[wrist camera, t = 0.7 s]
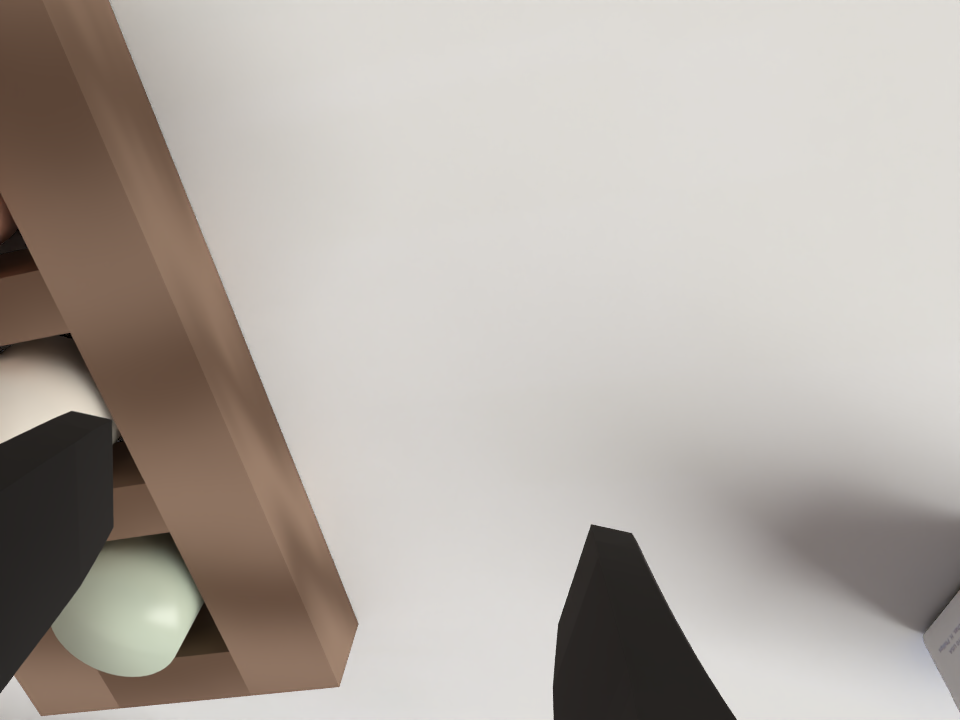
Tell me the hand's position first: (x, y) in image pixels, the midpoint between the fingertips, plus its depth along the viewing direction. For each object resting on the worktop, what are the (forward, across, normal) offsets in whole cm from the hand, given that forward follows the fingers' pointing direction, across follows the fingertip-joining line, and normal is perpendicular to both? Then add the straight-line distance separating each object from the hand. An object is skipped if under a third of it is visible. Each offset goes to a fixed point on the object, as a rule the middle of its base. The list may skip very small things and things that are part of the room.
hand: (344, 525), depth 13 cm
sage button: (+10, +7, +11) cm, 16 cm away
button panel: (+10, +9, +5) cm, 14 cm away
